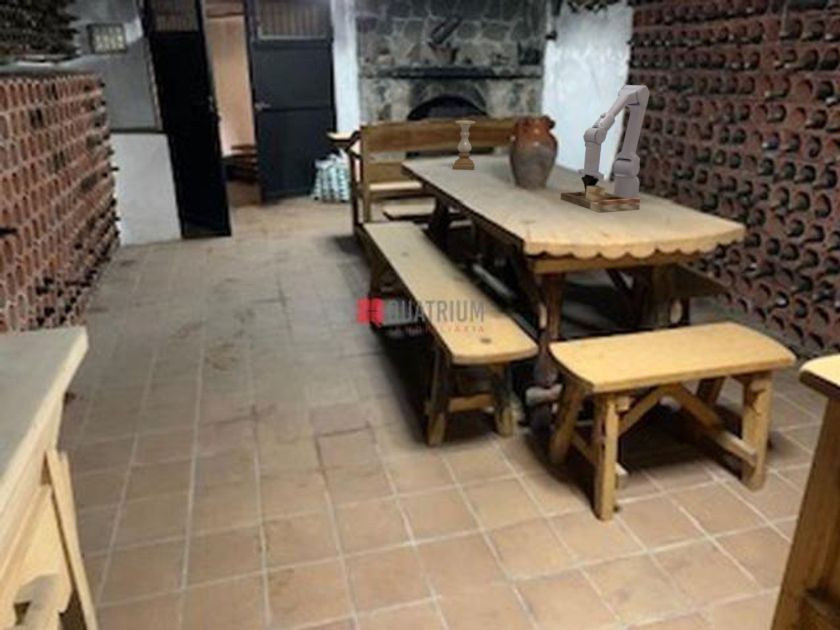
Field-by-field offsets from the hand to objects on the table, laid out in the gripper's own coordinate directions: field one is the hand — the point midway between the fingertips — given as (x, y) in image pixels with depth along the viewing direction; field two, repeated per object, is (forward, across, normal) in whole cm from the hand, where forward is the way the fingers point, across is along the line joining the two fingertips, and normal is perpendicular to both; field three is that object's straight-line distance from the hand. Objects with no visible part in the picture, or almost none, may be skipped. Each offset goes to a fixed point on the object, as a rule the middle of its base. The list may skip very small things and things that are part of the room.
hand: (588, 195), depth 257 cm
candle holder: (+4, -102, -8) cm, 103 cm away
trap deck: (+3, +1, +4) cm, 5 cm away
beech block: (+1, +4, 0) cm, 4 cm away
